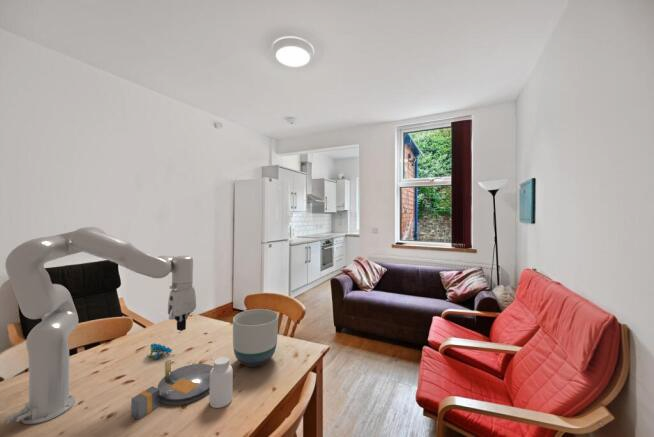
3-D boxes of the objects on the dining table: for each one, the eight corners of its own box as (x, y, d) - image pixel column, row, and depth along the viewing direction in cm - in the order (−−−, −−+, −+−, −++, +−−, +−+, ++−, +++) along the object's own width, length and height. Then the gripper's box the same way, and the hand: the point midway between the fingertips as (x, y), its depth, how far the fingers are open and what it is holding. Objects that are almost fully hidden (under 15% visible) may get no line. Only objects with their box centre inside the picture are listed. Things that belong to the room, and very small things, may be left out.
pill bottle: (225, 390, 102) (225, 352, 102) (236, 400, 97) (237, 360, 97) (205, 401, 96) (205, 361, 96) (216, 412, 91) (216, 369, 90)
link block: (138, 419, 87) (138, 401, 87) (131, 416, 88) (131, 398, 88) (159, 406, 93) (159, 389, 93) (151, 402, 95) (152, 386, 95)
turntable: (224, 385, 103) (224, 362, 103) (162, 409, 89) (162, 383, 89) (208, 361, 119) (208, 342, 119) (153, 380, 105) (154, 357, 105)
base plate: (183, 413, 90) (183, 410, 90) (142, 395, 98) (142, 392, 98) (230, 377, 110) (230, 375, 110) (192, 365, 119) (192, 363, 119)
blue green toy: (177, 350, 128) (162, 342, 122) (170, 363, 124) (155, 355, 118) (160, 349, 132) (145, 341, 125) (153, 362, 128) (137, 354, 121)
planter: (285, 356, 127) (286, 313, 127) (258, 380, 109) (259, 329, 108) (252, 347, 136) (253, 306, 135) (222, 367, 117) (223, 320, 117)
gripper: (171, 291, 100) (170, 339, 100) (203, 282, 114) (202, 324, 114) (158, 289, 103) (157, 335, 103) (191, 280, 117) (190, 321, 117)
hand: (181, 329), depth 109 cm, fingers closed
